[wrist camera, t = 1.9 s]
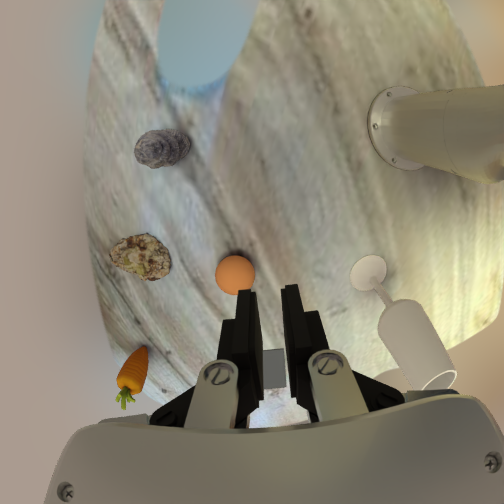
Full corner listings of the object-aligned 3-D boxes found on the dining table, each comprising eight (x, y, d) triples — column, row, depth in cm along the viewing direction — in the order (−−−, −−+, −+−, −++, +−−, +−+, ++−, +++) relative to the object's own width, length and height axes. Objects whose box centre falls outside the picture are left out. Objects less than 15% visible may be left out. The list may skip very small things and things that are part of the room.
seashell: (171, 172, 36) (145, 186, 27) (147, 145, 34) (114, 151, 25) (200, 146, 34) (180, 151, 25) (175, 118, 33) (148, 114, 24)
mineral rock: (169, 238, 38) (164, 292, 39) (177, 235, 42) (172, 284, 43) (105, 228, 38) (103, 279, 39) (118, 226, 42) (115, 273, 43)
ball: (252, 247, 40) (252, 264, 35) (256, 280, 43) (256, 300, 38) (214, 251, 41) (208, 269, 36) (221, 283, 43) (216, 304, 38)
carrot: (138, 333, 48) (110, 392, 34) (160, 346, 49) (138, 407, 36) (130, 347, 50) (104, 403, 36) (151, 359, 51) (130, 416, 37)
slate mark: (283, 348, 49) (283, 349, 48) (286, 386, 53) (286, 387, 53) (219, 353, 49) (219, 354, 49) (230, 390, 54) (230, 390, 54)
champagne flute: (384, 288, 43) (451, 394, 21) (349, 293, 44) (402, 412, 22) (388, 252, 40) (473, 354, 18) (350, 257, 41) (420, 374, 19)
